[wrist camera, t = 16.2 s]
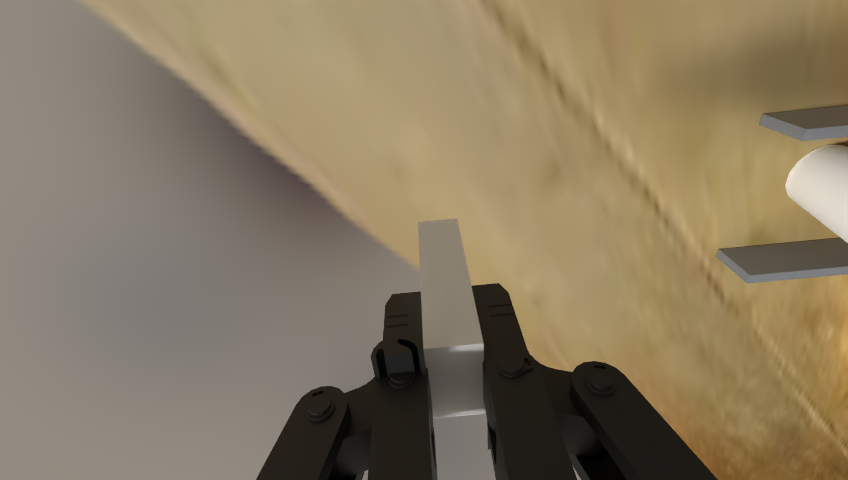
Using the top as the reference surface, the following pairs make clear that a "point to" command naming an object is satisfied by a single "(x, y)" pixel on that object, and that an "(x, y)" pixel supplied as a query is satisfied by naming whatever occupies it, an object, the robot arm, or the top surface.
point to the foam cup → (823, 186)
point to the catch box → (800, 255)
